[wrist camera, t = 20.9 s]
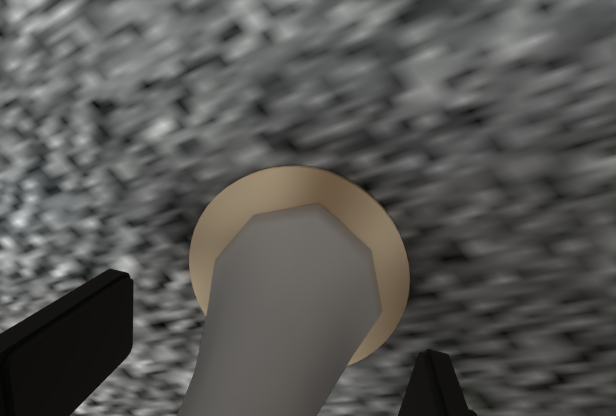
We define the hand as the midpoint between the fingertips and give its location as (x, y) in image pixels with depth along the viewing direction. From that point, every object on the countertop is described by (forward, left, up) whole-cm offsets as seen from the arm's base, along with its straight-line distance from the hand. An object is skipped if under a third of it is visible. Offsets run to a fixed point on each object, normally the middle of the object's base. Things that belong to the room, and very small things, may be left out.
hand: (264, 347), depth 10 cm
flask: (0, 0, -5) cm, 5 cm away
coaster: (0, 0, -5) cm, 5 cm away
